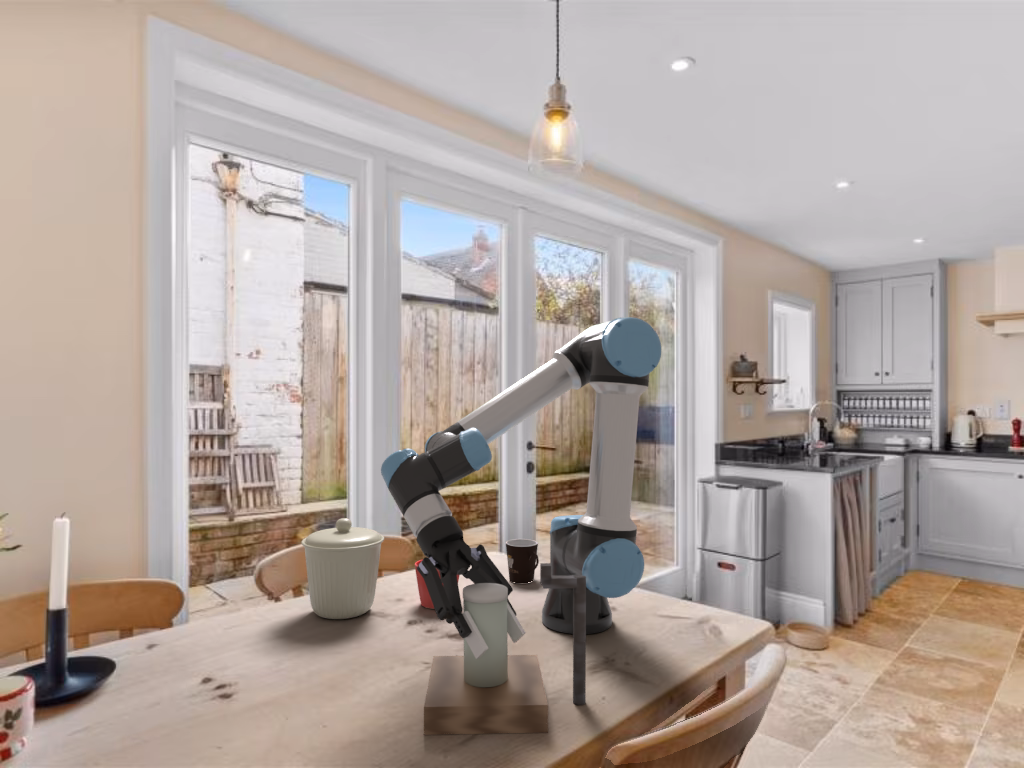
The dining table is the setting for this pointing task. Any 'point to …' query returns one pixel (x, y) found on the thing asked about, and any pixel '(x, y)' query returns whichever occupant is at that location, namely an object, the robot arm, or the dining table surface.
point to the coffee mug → (522, 559)
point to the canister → (342, 569)
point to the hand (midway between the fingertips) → (501, 645)
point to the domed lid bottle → (487, 634)
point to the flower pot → (425, 588)
